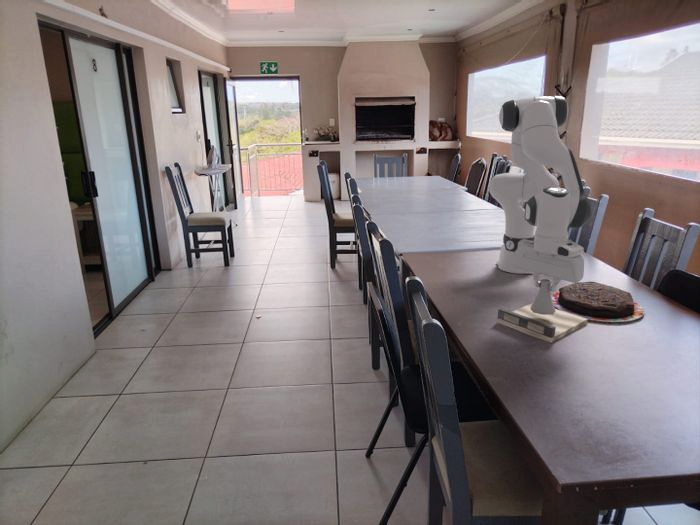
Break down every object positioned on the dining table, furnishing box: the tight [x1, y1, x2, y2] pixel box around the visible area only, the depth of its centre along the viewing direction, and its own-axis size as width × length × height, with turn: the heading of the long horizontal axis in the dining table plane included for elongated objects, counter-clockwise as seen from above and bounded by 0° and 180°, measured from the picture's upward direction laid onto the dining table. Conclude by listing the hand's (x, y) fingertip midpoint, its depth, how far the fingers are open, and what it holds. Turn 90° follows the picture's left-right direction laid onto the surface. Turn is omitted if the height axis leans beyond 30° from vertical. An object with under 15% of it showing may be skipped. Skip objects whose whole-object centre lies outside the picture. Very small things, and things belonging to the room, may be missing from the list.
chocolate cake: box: [551, 281, 645, 325], centre depth 157 cm, size 28×28×7 cm
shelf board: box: [496, 302, 588, 344], centre depth 146 cm, size 20×18×4 cm
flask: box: [530, 278, 556, 315], centre depth 144 cm, size 7×7×10 cm
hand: (545, 288), depth 143 cm, fingers closed on flask, 3 cm apart
